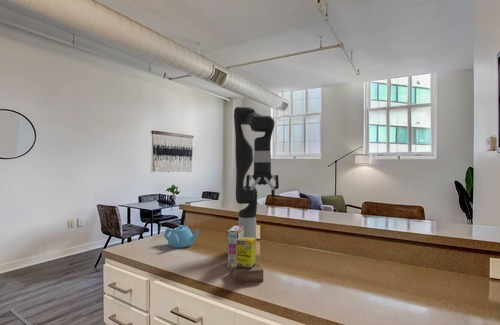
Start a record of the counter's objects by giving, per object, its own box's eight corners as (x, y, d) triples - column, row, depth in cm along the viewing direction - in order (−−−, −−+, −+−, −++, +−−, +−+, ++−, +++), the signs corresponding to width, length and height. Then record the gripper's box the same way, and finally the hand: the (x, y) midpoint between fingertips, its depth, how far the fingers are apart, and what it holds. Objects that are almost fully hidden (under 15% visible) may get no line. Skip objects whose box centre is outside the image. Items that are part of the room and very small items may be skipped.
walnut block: (229, 274, 120) (229, 262, 120) (254, 272, 123) (254, 260, 123) (235, 286, 110) (235, 272, 110) (263, 282, 113) (263, 269, 113)
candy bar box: (238, 269, 125) (238, 231, 125) (226, 268, 126) (226, 230, 126) (243, 260, 136) (243, 225, 136) (233, 259, 137) (233, 225, 137)
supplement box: (236, 267, 114) (237, 239, 114) (241, 262, 120) (242, 236, 120) (251, 269, 113) (251, 241, 113) (255, 264, 118) (256, 237, 118)
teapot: (188, 239, 173) (188, 221, 173) (200, 245, 161) (200, 225, 161) (163, 244, 163) (162, 224, 163) (173, 250, 151) (173, 230, 151)
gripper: (278, 161, 131) (278, 197, 131) (246, 161, 131) (246, 197, 132) (279, 161, 123) (279, 199, 123) (245, 161, 124) (245, 199, 124)
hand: (262, 198), depth 127 cm, fingers open, 8 cm apart
